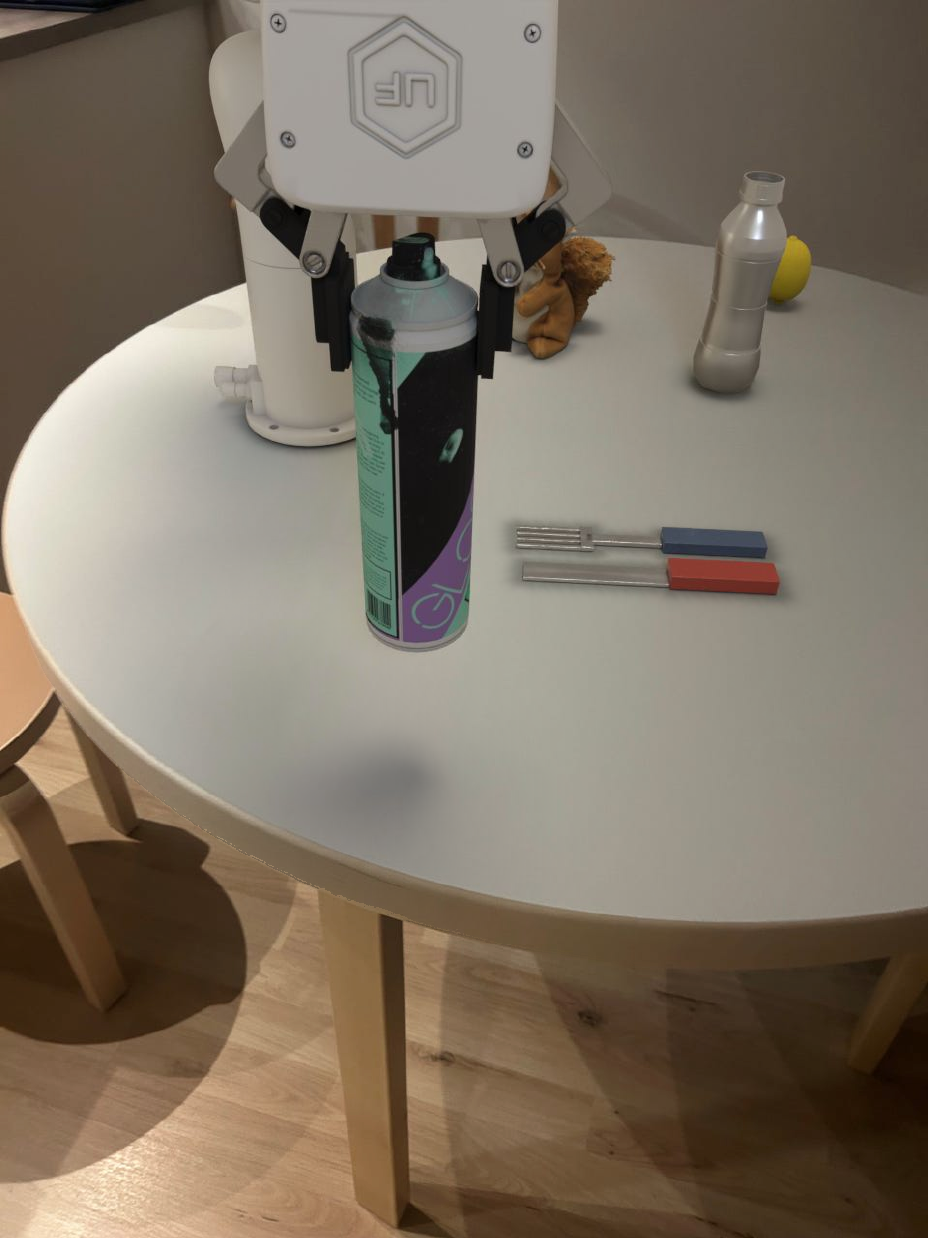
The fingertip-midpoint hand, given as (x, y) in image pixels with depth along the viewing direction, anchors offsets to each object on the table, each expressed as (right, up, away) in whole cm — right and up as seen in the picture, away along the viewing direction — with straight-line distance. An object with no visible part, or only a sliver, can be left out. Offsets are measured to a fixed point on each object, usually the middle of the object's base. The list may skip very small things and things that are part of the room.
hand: (415, 357), depth 41 cm
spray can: (0, -11, +10) cm, 15 cm away
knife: (+17, -8, +32) cm, 37 cm away
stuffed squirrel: (+11, +20, +65) cm, 69 cm away
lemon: (+39, +26, +73) cm, 87 cm away
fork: (+17, -5, +35) cm, 39 cm away
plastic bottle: (+28, +12, +57) cm, 64 cm away
